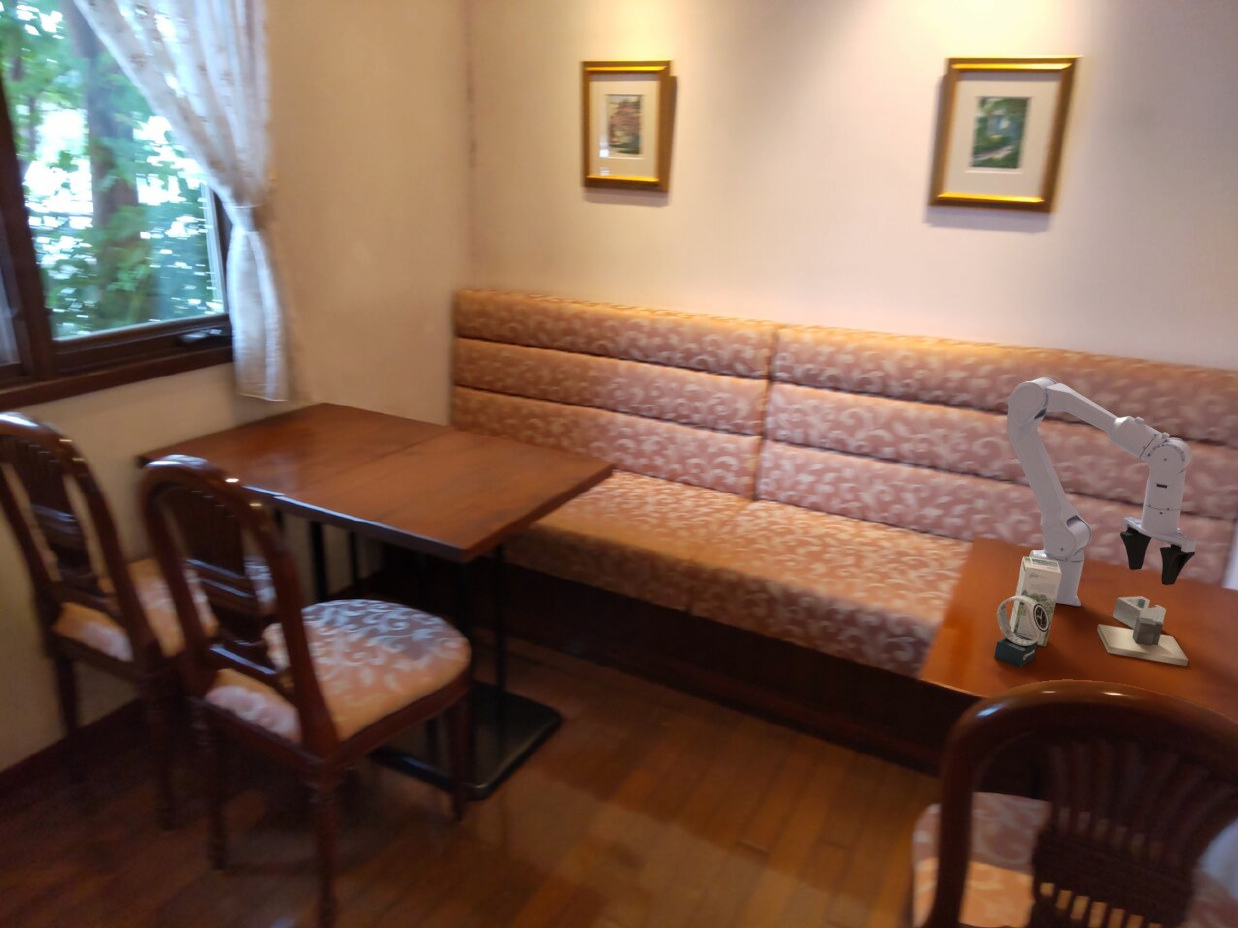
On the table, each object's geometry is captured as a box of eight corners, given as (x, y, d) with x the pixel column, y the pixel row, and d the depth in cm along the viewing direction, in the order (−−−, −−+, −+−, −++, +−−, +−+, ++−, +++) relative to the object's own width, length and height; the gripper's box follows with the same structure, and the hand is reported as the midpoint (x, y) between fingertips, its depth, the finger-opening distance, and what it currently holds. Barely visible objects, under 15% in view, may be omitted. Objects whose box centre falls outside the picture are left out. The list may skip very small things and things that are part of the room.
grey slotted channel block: (1135, 630, 157) (1140, 610, 156) (1112, 616, 162) (1117, 597, 161) (1161, 628, 158) (1166, 609, 157) (1137, 615, 163) (1142, 596, 162)
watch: (1030, 672, 140) (1043, 612, 137) (984, 653, 146) (995, 594, 143) (1046, 662, 144) (1058, 603, 140) (999, 643, 149) (1011, 586, 146)
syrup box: (1042, 633, 154) (1057, 559, 150) (1046, 648, 149) (1062, 571, 144) (1008, 627, 156) (1022, 553, 151) (1011, 641, 150) (1026, 565, 146)
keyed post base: (1108, 652, 148) (1114, 625, 147) (1097, 630, 156) (1103, 604, 155) (1186, 666, 145) (1193, 638, 143) (1171, 642, 153) (1177, 616, 151)
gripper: (1215, 516, 148) (1203, 589, 151) (1149, 493, 162) (1139, 561, 165) (1181, 518, 147) (1169, 592, 150) (1117, 496, 160) (1107, 564, 164)
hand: (1151, 576), depth 157 cm, fingers open, 7 cm apart
